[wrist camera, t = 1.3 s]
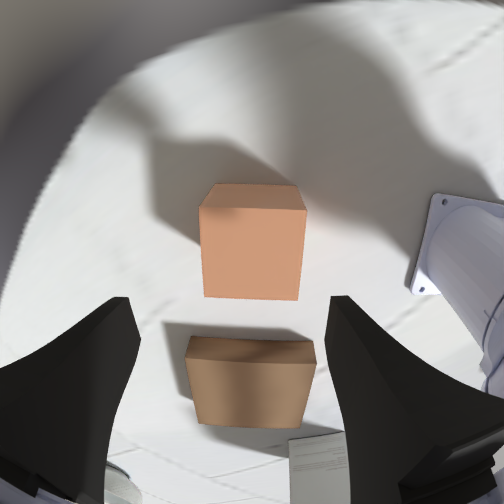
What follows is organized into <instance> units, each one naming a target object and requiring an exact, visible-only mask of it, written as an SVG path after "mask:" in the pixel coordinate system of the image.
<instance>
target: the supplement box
mask: <svg viewBox="0 0 504 504" xmlns="http://www.w3.org/2000/svg"><path fill="white" fill-rule="evenodd" d="M288 446H289V474H290V504H350V476H349V463H348V453H347V444H346V436H345V432H340V433H335V434H329V435H323V436H317V437H310V438H302V439H294V440H288Z"/></svg>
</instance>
